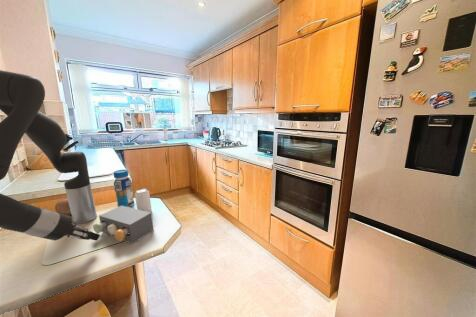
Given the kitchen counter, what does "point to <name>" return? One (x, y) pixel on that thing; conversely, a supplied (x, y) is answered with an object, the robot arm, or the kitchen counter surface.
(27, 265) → the kitchen counter surface
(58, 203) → the onion
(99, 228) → the button green
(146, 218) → the control box
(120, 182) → the beverage bottle
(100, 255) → the kitchen counter surface
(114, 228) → the button cream
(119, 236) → the button orange
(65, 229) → the robot arm
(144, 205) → the can
